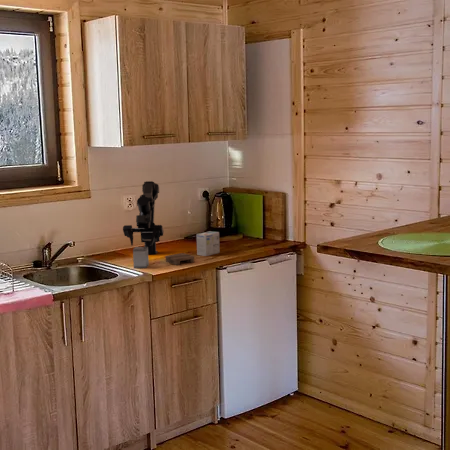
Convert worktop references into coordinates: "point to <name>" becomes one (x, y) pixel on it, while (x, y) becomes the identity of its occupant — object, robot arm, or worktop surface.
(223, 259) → the worktop surface
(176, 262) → the walnut stand
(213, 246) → the light bulb box
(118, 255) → the worktop surface
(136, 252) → the block
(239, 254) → the worktop surface
